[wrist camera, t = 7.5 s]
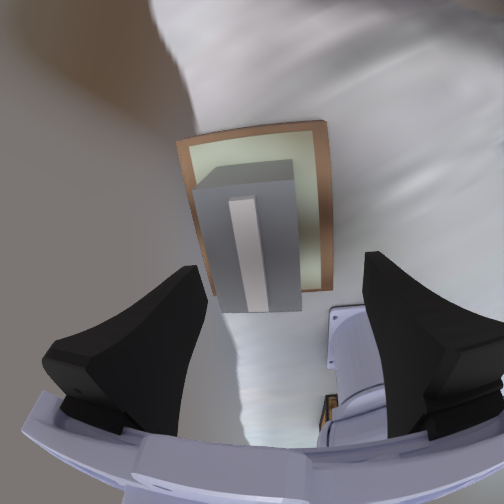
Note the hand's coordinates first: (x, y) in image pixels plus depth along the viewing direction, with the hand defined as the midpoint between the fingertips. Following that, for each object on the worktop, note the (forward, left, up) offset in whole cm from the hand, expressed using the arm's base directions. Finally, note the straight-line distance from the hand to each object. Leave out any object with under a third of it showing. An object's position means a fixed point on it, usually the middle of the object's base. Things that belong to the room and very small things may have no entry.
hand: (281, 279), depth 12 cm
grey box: (-1, +2, -8) cm, 8 cm away
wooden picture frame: (-1, +2, -10) cm, 11 cm away
